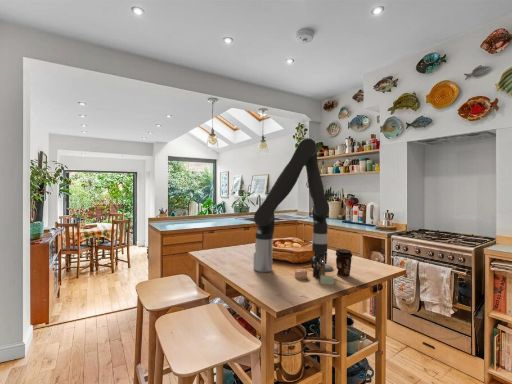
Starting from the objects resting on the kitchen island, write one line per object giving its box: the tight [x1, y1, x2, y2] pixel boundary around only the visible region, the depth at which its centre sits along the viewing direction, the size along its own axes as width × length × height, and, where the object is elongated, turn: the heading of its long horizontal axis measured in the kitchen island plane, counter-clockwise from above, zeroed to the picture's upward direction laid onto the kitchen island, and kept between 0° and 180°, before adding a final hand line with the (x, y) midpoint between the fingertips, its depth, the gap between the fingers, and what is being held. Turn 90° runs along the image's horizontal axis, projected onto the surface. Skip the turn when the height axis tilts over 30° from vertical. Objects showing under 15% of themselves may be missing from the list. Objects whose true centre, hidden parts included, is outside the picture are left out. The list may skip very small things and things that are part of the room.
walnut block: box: [312, 264, 326, 279], centre depth 137 cm, size 4×4×6 cm
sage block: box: [319, 275, 335, 286], centre depth 128 cm, size 6×4×3 cm, turn 77°
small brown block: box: [294, 268, 308, 281], centre depth 134 cm, size 6×6×4 cm
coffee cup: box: [335, 248, 353, 279], centre depth 138 cm, size 9×8×13 cm
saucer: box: [325, 264, 333, 272], centre depth 149 cm, size 9×9×1 cm
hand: (319, 274), depth 137 cm, fingers open, 6 cm apart
